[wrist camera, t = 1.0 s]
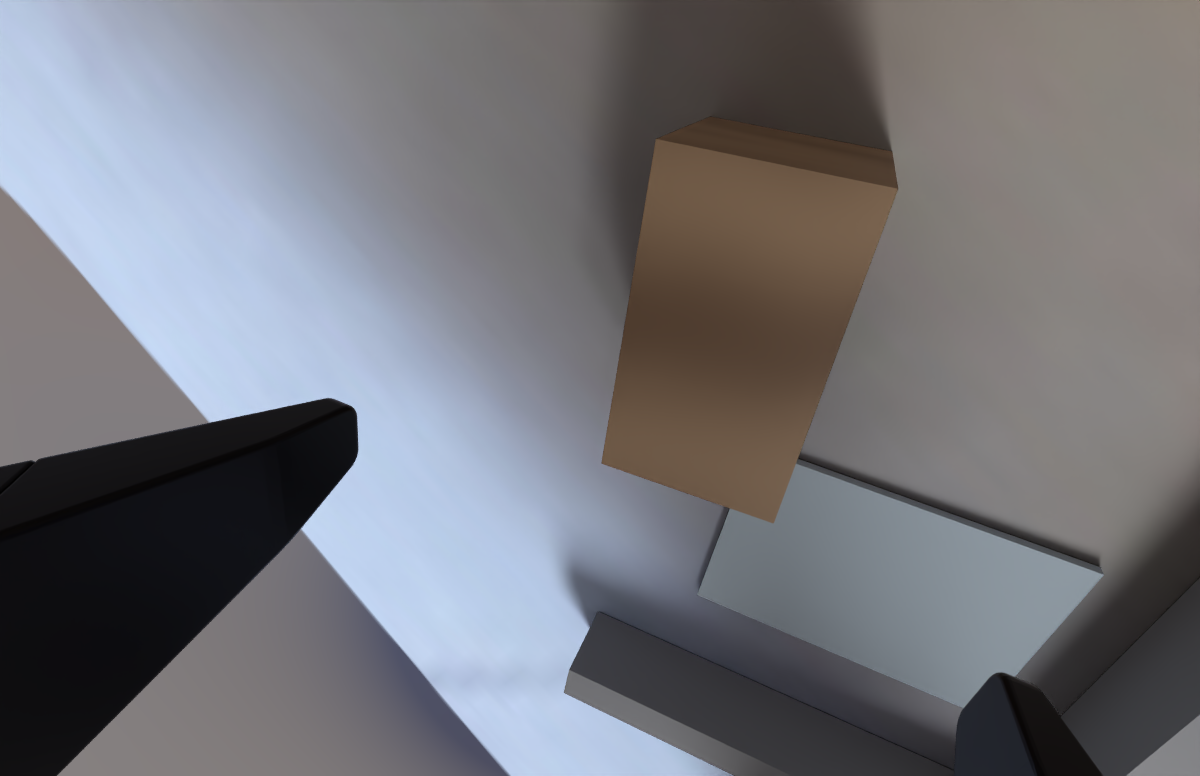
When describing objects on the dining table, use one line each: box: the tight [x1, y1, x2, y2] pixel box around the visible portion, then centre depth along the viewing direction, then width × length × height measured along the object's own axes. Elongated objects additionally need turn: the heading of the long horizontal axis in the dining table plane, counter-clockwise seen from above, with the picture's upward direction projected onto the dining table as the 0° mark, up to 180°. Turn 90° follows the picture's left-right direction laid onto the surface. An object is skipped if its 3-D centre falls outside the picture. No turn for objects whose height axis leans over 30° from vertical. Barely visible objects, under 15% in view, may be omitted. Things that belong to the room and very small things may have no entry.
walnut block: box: [602, 117, 898, 524], centre depth 16 cm, size 8×4×5 cm, turn 172°
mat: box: [697, 459, 1104, 708], centre depth 20 cm, size 7×10×1 cm
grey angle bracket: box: [564, 578, 1200, 776], centre depth 19 cm, size 19×17×3 cm
